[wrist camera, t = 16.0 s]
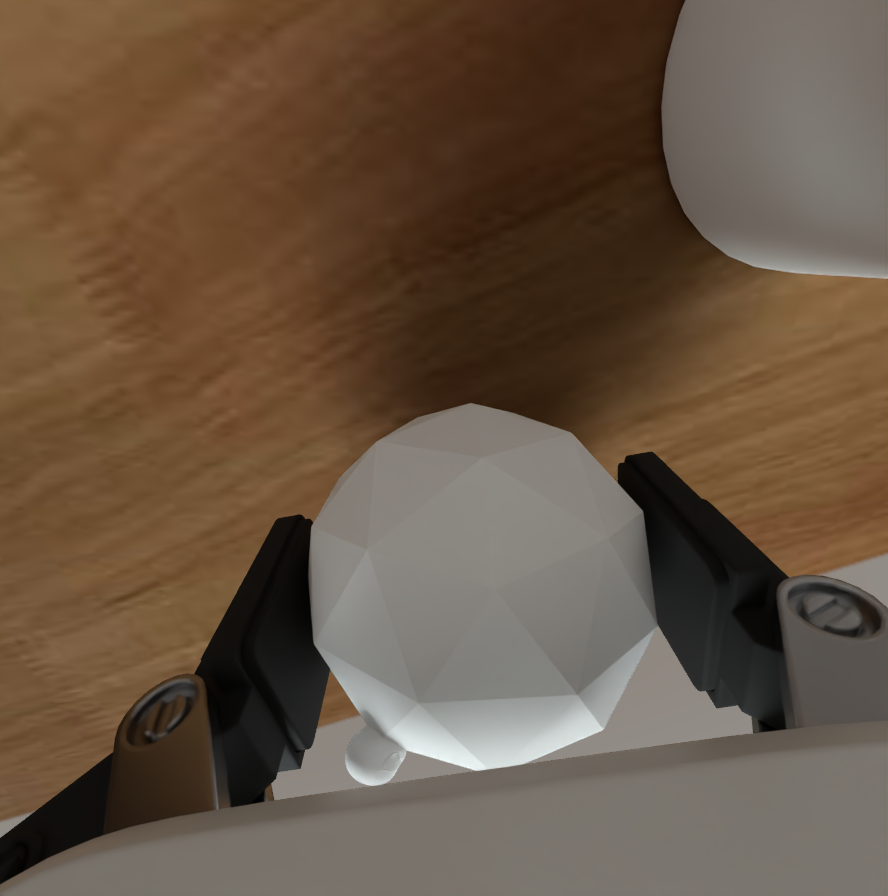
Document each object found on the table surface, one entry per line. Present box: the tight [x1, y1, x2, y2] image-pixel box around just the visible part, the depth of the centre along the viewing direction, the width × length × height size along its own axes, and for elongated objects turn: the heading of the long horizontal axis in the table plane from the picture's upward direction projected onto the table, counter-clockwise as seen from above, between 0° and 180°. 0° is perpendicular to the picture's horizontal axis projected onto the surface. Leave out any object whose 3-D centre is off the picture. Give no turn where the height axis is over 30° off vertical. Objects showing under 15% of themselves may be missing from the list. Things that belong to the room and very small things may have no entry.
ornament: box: [308, 403, 658, 786], centre depth 9 cm, size 7×7×8 cm
